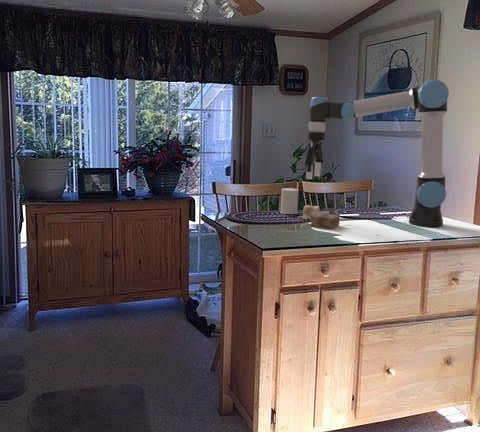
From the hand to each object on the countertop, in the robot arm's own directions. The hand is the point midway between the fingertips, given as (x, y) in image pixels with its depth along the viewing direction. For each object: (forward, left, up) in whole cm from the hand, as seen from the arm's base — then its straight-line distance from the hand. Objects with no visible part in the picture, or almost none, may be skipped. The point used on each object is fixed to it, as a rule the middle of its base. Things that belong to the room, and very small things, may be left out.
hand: (313, 177), depth 249 cm
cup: (+13, -6, -20) cm, 24 cm away
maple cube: (0, +1, -20) cm, 20 cm away
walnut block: (-10, +13, -20) cm, 26 cm away
